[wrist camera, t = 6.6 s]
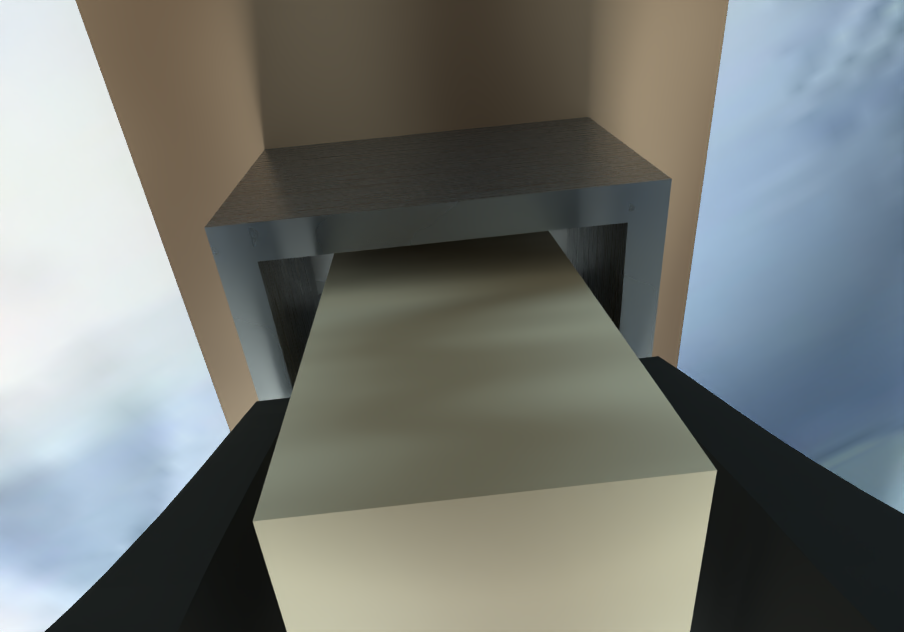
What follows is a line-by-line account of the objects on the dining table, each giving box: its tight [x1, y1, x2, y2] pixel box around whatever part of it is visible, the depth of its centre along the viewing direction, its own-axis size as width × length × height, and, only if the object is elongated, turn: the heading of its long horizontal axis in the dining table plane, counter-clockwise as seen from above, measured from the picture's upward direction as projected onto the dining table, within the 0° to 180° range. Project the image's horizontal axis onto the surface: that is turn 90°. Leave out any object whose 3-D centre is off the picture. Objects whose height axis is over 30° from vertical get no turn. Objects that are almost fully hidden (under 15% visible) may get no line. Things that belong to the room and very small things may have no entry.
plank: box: [76, 0, 729, 432], centre depth 16 cm, size 12×22×1 cm, turn 5°
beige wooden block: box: [253, 231, 717, 632], centre depth 9 cm, size 4×4×8 cm
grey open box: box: [204, 117, 672, 401], centre depth 12 cm, size 7×7×4 cm
